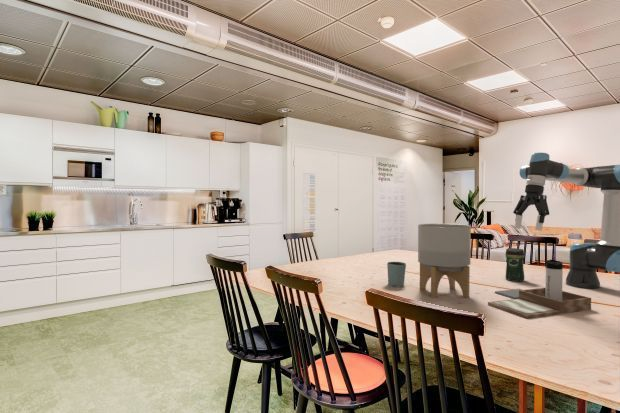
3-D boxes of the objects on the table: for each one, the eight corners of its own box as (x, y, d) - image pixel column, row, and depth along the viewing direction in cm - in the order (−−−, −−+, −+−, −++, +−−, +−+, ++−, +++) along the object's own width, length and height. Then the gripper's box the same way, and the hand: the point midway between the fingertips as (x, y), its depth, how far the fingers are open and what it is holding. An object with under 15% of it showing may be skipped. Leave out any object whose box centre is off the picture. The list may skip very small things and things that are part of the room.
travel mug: (559, 303, 166) (559, 259, 166) (564, 307, 160) (564, 262, 159) (543, 302, 168) (543, 259, 168) (547, 306, 162) (548, 261, 161)
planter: (409, 293, 185) (409, 225, 184) (430, 284, 204) (431, 222, 203) (458, 302, 168) (459, 228, 168) (477, 292, 187) (478, 225, 186)
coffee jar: (525, 280, 214) (525, 248, 213) (522, 282, 208) (523, 249, 207) (507, 277, 220) (507, 246, 220) (503, 280, 214) (504, 248, 214)
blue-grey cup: (385, 282, 209) (385, 261, 209) (403, 282, 208) (403, 261, 208) (389, 286, 199) (389, 264, 198) (407, 286, 198) (407, 264, 198)
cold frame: (547, 297, 176) (547, 287, 176) (591, 309, 157) (591, 298, 157) (487, 304, 165) (487, 293, 165) (527, 318, 146) (527, 306, 146)
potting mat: (519, 290, 190) (519, 288, 190) (540, 296, 179) (540, 294, 179) (494, 293, 185) (494, 291, 185) (515, 299, 174) (515, 297, 174)
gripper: (510, 185, 186) (502, 226, 186) (548, 182, 162) (540, 229, 161) (523, 188, 187) (516, 229, 187) (563, 185, 163) (555, 232, 162)
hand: (527, 229), depth 174 cm, fingers open, 13 cm apart
